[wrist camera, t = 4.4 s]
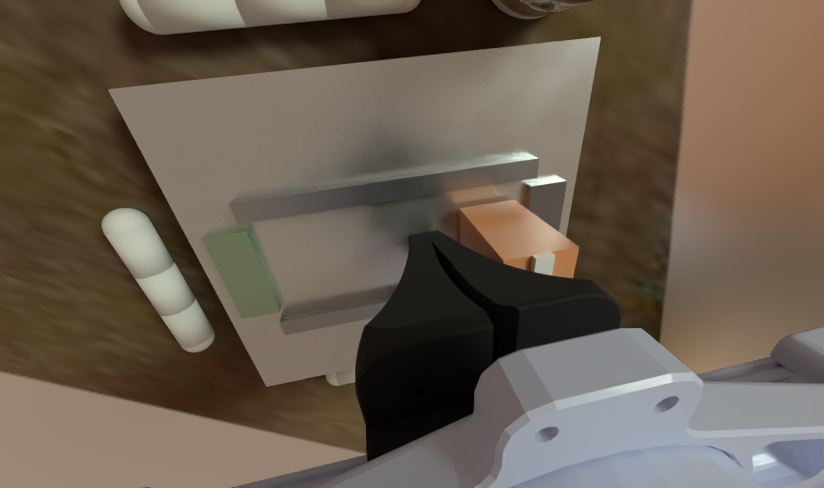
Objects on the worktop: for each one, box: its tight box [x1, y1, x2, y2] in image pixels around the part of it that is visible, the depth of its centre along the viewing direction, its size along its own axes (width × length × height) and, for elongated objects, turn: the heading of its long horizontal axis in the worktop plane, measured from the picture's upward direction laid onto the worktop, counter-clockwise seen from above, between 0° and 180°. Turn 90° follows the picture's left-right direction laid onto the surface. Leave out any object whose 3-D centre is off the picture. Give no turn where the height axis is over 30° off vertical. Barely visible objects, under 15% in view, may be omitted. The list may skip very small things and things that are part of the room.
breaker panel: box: [108, 37, 601, 387], centre depth 14 cm, size 14×16×2 cm
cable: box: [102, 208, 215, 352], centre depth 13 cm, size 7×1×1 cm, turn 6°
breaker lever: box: [460, 200, 579, 278], centre depth 11 cm, size 3×2×4 cm
